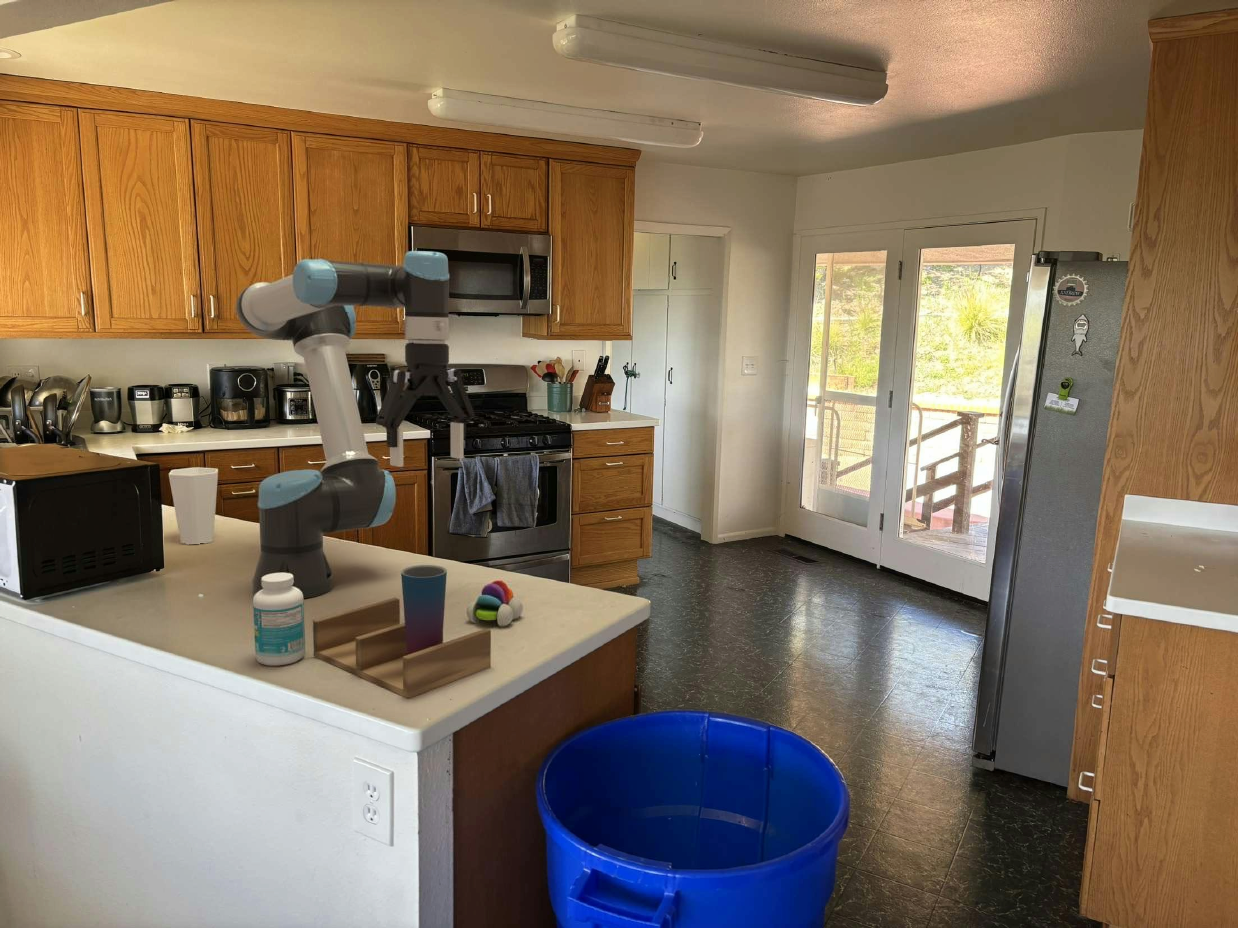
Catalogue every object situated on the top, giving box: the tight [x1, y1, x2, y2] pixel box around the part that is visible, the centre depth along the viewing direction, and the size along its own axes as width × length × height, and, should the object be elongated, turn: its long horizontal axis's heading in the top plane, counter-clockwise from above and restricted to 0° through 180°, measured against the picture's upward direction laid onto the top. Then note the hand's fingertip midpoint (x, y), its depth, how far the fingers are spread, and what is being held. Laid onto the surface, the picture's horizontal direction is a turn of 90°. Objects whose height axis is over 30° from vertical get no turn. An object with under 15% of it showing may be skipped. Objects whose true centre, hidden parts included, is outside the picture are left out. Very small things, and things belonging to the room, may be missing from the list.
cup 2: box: [400, 564, 448, 655], centre depth 133 cm, size 7×7×15 cm
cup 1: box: [168, 466, 219, 545], centre depth 206 cm, size 11×10×17 cm
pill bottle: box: [252, 573, 306, 667], centre depth 137 cm, size 8×7×14 cm
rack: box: [312, 597, 492, 699], centre depth 137 cm, size 24×16×6 cm, turn 52°
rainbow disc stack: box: [466, 580, 524, 628], centre depth 158 cm, size 8×10×7 cm
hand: (427, 461), depth 155 cm, fingers open, 13 cm apart
